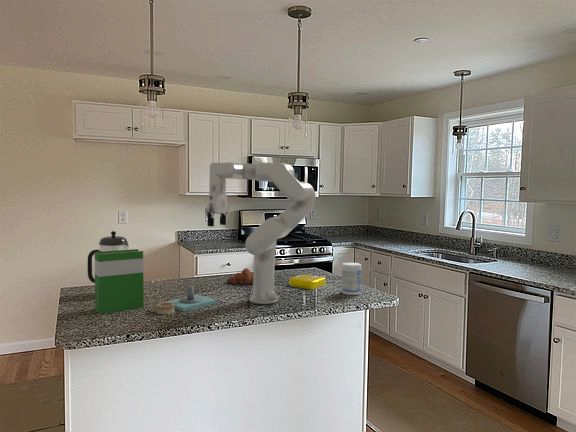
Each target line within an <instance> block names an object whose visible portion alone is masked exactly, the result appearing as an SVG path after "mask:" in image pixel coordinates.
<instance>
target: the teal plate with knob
mask: <svg viewBox="0 0 576 432" xmlns="http://www.w3.org/2000/svg"><path fill="white" fill-rule="evenodd" d="M164 302H172V303H174V310H178V311H181V312H187V311H188V312H189V311H191V310H195V309H200V308H202V307H207V306H211V305H215V304H218V300H217V299H216V298H212V297H208V296H204V295H201V294H200V295H199V294H195V288H194V287H193V286H188V287H187V290H186V296H184V297H180V298H175V299H170V300H166V301H164Z"/></svg>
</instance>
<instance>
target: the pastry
mask: <svg viewBox="0 0 576 432" xmlns="http://www.w3.org/2000/svg"><path fill="white" fill-rule="evenodd" d="M226 283H227V284H231V285H244V286H251V285H252V286H253V272H252V271H251V270H250V269H249V268H246V267H245V268H243V269H242V271H241V272H236V273H235V274H234V275H231V276H229V277H228V279H226Z"/></svg>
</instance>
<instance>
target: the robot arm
mask: <svg viewBox="0 0 576 432" xmlns="http://www.w3.org/2000/svg"><path fill="white" fill-rule="evenodd" d="M227 179H231V180H233V179H234V180H250V181H251V180H253V181H257V182H266V183H267V182H268V183H269V182H271V183H273V184H274V185H275V186H276V187H277V189H278V190H279V191H280V192H281V193H282V194H283V195H284V196H285V197H286V198H287V199H288V200H289V201H291V202H293V203H291V204H290V205H289V206H287V207H286V209H284V210H283V212H281V213H280V214H279V215H276V216H274V217H273V216H272V217H269V218H267V219H266V220H265V221H263V222H262V223H261V224H260V225H258V227H256V228H255V230H253V231H252V232H251V233H250V234H249V235H248V236H247V238H246V239H245V243H244V244H245V250H246V251H247V252H248V254H250V255H253V269H252V271H253V272H252V273H253V285H252V289H253V290H252V296H250V298H249V302H251V303H253V304H258V305H268V304H269V305H270V304H273V303H277V302H278V300H279V299H280V297H281V295H278V294H276V293H277V292H276V291H275V262H276V261H275V260H276V259H275V258H276V251H277V240H279V239H282V238H284V237H286V236H288V234H289V233H290V232H292V230H294V229H295V228H296V227H297V226H298V225H299V224H300V223H301V222H302V221H303V220H304V219H305V218H306V217H308V215H309V214H310V213H311V212H312V210H313V209H314V207H315V205H316V193H315V190H314V187H313V186H312V185H311V184H310V183H308V182H306V181H299V180H298V179H297V178H296V177H295V169H294V167H293V166H292V165H291V164H289V163H285V162H267V161H265V162H264V161H263V162H262V161H260V162H257V163H241V162H233V161H227V162H210V164H209V191H208V192H209V193H208V198H207V199H208V201H207V205H206V207H205V208H204V211H205V215H206V218H207V227H215V215H216V214H217V215H218V214H219V215H220V216H219V225H221V226H226V225H227V217H228V213H229V208H230V207H229V206H228V197H227V191H226V190H227V189H226V188H227V186H226V185H227Z"/></svg>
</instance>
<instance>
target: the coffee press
mask: <svg viewBox="0 0 576 432" xmlns="http://www.w3.org/2000/svg"><path fill="white" fill-rule="evenodd" d="M98 245H99V249H93V250H91V251H89V253H88V255H87V277H88V280H89V281H90V282H91V283H93V284H95V277H94V276H93V257H94V256H95V253H94V252H103V251H117V250H131V249H130V248H131V247H130V245H129V241H128V239H127V238H126V237H124V236H120V235H117V233H116V231H115V230H112V231H111V232H110V236H109V235H108V236H104V237H102V238H100V239H99V242H98Z"/></svg>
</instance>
